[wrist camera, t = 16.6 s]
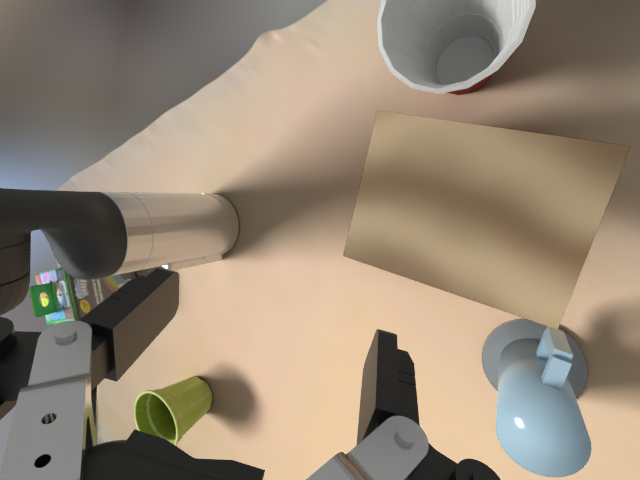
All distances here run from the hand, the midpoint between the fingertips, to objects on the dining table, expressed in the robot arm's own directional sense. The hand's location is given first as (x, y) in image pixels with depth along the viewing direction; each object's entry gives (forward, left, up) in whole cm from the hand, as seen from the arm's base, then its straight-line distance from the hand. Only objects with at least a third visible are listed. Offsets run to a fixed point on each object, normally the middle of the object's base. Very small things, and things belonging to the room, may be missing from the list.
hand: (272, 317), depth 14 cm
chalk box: (-32, +46, -29) cm, 63 cm away
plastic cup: (+18, +4, -29) cm, 34 cm away
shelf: (+6, -3, -29) cm, 30 cm away
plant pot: (-40, +22, -29) cm, 54 cm away
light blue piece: (-5, -14, -28) cm, 32 cm away
